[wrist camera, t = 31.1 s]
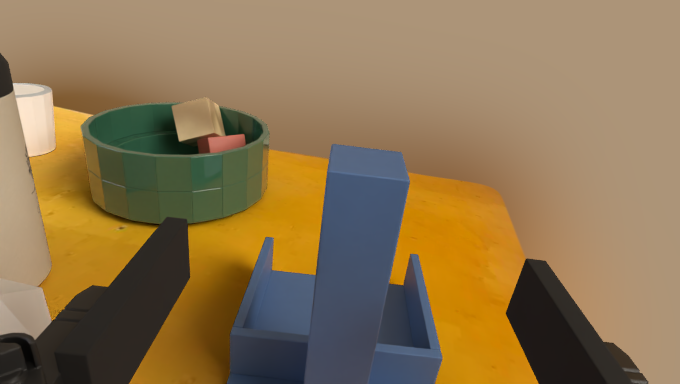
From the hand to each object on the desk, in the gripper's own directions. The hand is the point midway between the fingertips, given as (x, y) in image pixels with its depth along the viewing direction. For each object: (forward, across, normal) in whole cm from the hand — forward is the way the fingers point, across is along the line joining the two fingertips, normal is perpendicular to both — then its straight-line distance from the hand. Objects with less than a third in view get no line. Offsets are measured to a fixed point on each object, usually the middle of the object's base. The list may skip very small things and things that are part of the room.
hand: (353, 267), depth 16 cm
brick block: (+29, -13, -10) cm, 33 cm away
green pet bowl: (+27, -17, -11) cm, 33 cm away
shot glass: (+32, -37, -12) cm, 50 cm away
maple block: (+30, -17, -5) cm, 35 cm away
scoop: (+7, 0, -11) cm, 13 cm away
